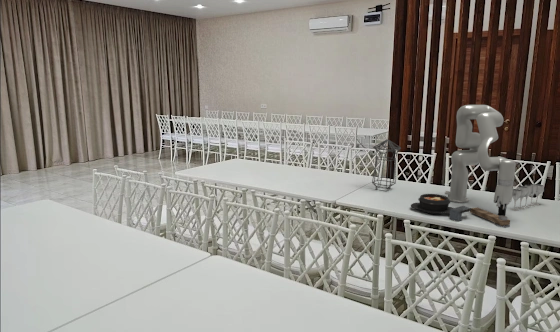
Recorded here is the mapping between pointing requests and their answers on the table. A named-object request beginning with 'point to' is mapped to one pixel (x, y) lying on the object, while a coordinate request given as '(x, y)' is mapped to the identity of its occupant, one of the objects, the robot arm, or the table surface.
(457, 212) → the keeper
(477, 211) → the brown wooden bar
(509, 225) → the pintle plate
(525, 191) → the goblet set
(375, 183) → the geometric lantern
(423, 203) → the casserole
